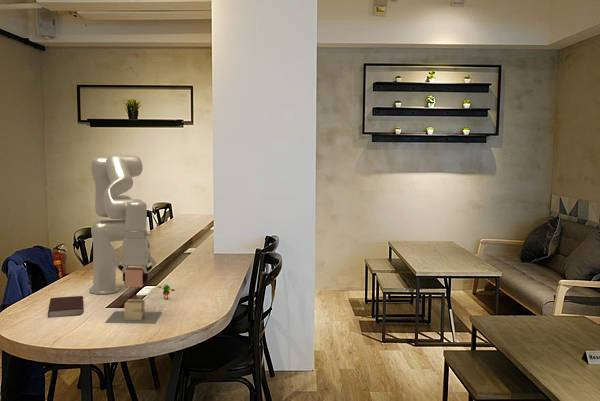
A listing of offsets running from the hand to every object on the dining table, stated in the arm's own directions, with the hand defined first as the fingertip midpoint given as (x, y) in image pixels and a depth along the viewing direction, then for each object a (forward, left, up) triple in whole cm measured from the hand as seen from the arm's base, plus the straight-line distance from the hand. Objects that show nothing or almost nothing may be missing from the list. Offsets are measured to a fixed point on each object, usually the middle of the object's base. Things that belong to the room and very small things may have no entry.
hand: (135, 282), depth 200 cm
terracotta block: (0, 0, -1) cm, 1 cm away
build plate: (0, 0, -14) cm, 14 cm away
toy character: (-30, +7, -15) cm, 34 cm away
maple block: (0, 0, -13) cm, 13 cm away
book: (-12, -29, -15) cm, 35 cm away
